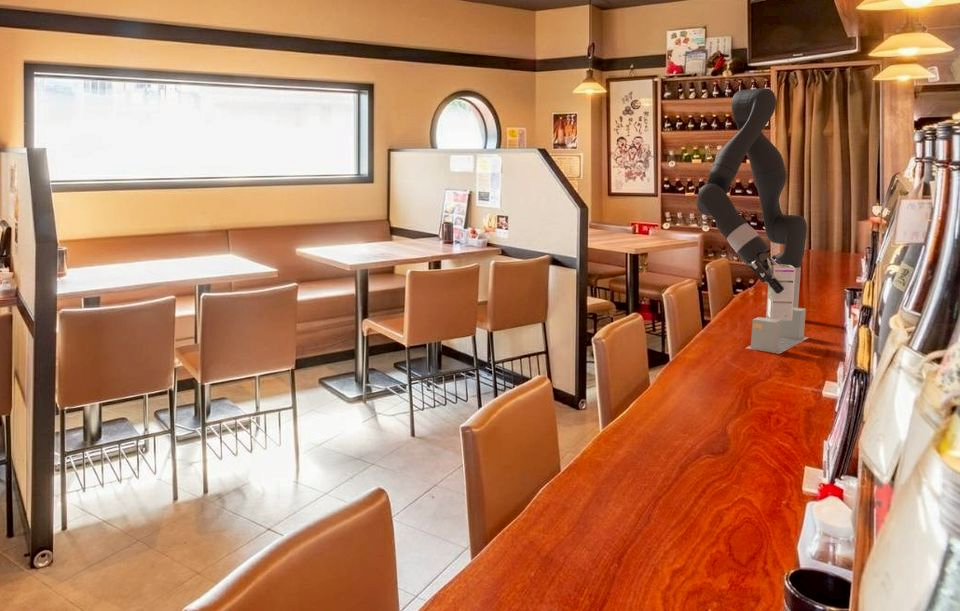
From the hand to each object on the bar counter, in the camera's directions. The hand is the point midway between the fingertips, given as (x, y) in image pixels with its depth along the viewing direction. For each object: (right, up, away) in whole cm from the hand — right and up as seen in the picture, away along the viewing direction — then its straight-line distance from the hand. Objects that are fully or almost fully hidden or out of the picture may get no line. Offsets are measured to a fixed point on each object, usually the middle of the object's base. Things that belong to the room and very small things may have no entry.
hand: (786, 289), depth 201 cm
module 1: (-7, -16, -3) cm, 18 cm away
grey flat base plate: (-1, -16, +4) cm, 16 cm away
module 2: (+5, -13, +11) cm, 18 cm away
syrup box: (-1, -8, +3) cm, 8 cm away
